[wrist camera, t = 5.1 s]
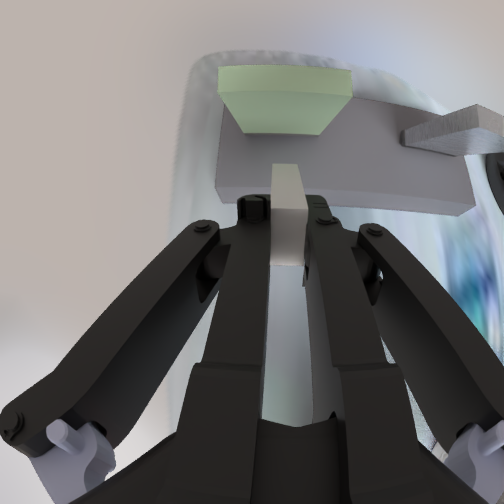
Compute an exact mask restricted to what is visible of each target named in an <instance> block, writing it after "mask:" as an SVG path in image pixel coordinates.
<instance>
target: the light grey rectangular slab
mask: <svg viewBox="0 0 504 504" xmlns="http://www.w3.org/2000/svg"><path fill="white" fill-rule="evenodd" d="M399 140H400V145H401V146H402V147H407V148H413V149H418V150H423V151H428V152H433V153H438V154H443V155H447V156H451V157H456V156H462V155H472V154H485V153H499V152H504V116H502V115H500V114H498V113H496V112H493V111H491V110H489V109H487V108H485V107H482V106H480V105H477V104H475V105H473V106H470V107H467V108H464V109H461V110H458V111H455V112H452V113H449V114H446V115H444V116H441V117H438V118H435V119H433V120H430V121H427V122H424V123H422V124H419V125H417V126H414V127H411V128H409V129H406V130H402V131H401V133H400V137H399Z"/></svg>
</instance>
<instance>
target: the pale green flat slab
mask: <svg viewBox="0 0 504 504" xmlns="http://www.w3.org/2000/svg"><path fill="white" fill-rule="evenodd" d="M217 93H218V94H219V96H220V97H221V99H222V100H223V102H224V103H225V105H226V106H227V108H228V109H229V111H230V112H231V114H232V115H233V117H234V119H235V120H236V122H237V123H238V125H239V126H240V128H241V130H242V131H243V133H244V135H283V136H308V137H319V135H320V134H321V132H322V131H323V130H324V129H325V128H326V127H327V125H328V124H329V123H330V122H331V121H332V120H333V119H334V117H335V116H336V115H337V114H338V113H339V112H340V111H341V109H342V108H343V107H344V106H345V105H346V104H347V103H348V101H349V100H350V99H351V98H352V97H353V91H352V78H351V71H350V70H343V69H334V68H325V67H313V66H296V65H240V66H223V67H218V91H217Z"/></svg>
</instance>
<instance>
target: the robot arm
mask: <svg viewBox="0 0 504 504" xmlns="http://www.w3.org/2000/svg"><path fill="white" fill-rule="evenodd" d="M486 168H487V174H488V178H489V182H490V185H491V188H492V191H493V194H494V196H495V199H496V201H497V203H498V205H499V207H500V209H501V210H502V212H503V214H504V152H499V153H487V156H486ZM237 210H238V221H237V225H235V226H232V227H229V228H224V229H220V228H219V224H218V223H217V222H215V221H211V220H198V221H196V222H193V223H191V224H190V225H188V226H187V227H186V228H185V229H184V230H183V231H182V232H181V233H180V234H179V235H178V236H177V237H176V238H175V239H174V240H173V241H172V242H171V243H170V244H169V245H168V246H166V247H165V248H164V249H163V250H162V251H161V253H159V255H157V256H156V257H155V259H153V261H151V262H150V264H148V265H147V267H146V268H145V269H144V270H143V271H142V272H141V273H140V274H139V275H138V276H137V277H136V278H135V279H134V280H133V281H132V282H131V283H130V284H129V285H128V286H127V287H126V288H125V289H124V290H123V292H122V293H121V294H120V295H119V296H118V297H117V298H116V299H115V300H114V301H113V302H112V303H111V304H110V306H109V307H108V308H107V309H106V310H105V311H104V312H103V313H102V314H101V316H99V318H98V319H97V320H96V321H95V322H94V323H93V324H92V325H91V327H90V328H89V329H88V330H87V331H86V332H85V334H84V335H83V336H82V337H81V338H80V339H79V340H78V342H77V343H76V344H75V345H74V347H73V348H72V349H71V350H70V351H69V353H68V354H67V355H66V356H65V357H64V358H63V360H62V361H61V362H60V363H59V365H58V366H57V367H56V368H55V370H54V371H53V372H51V373H50V374H48V375H47V376H46V377H44V378H43V379H41V380H40V381H39V382H37V383H36V384H34V385H33V386H32V387H30V388H29V389H27V390H26V391H25V392H23V393H22V394H21V395H19V396H18V397H16V398H15V399H14V400H12V401H11V402H10V403H9V404H7V405H6V406H5V407H4V408H3V410H2V412H1V414H0V435H1V437H2V439H3V440H4V441H5V442H6V443H7V444H9V445H10V446H12V447H13V448H15V449H16V450H18V451H20V452H21V453H23V454H25V455H26V456H27V457H28V458H29V459H30V461H31V463H32V465H33V467H34V469H35V471H36V473H37V474H38V476H39V478H40V480H41V482H42V483H43V485H44V487H45V489H46V490H47V492H48V494H49V495H50V497H51V499H52V500H53V502H54V503H55V504H496V503H497V501H498V500H499V498H500V496H501V495H502V493H503V492H504V366H503V365H502V363H501V362H500V360H499V359H498V357H497V356H496V354H495V353H494V352H493V350H492V349H491V347H490V346H489V344H488V343H487V342H486V340H485V339H484V338H483V336H482V335H481V334H480V332H479V331H478V330H477V328H476V327H475V326H474V324H473V323H472V322H471V321H470V319H469V318H468V317H467V315H466V314H465V313H464V312H463V310H462V309H461V308H460V307H459V306H458V304H457V303H456V302H455V301H454V300H453V298H452V297H451V296H450V295H449V294H448V293H447V291H446V290H445V289H444V288H443V287H442V286H441V285H440V283H439V282H438V281H437V280H436V279H435V278H434V277H433V276H432V275H431V273H430V272H429V271H428V270H427V269H426V268H425V267H424V266H423V265H422V264H421V263H420V262H419V261H418V260H417V259H416V258H415V256H414V255H413V254H412V253H411V252H410V251H409V250H408V249H407V248H406V247H405V246H404V245H403V244H402V243H401V242H400V241H399V240H398V239H397V238H396V237H395V236H394V235H392V234H391V233H390V232H389V231H388V230H387V229H386V228H384V227H382V226H380V225H379V224H375V223H371V224H370V223H367V224H362V225H361V226H360V228H359V232H355V231H350V230H347V229H344V228H343V227H342V224H341V222H340V221H339V219H338V218H336V217H334V216H332V214H331V211H330V209H329V206H328V203H327V201H326V199H325V198H324V197H322V196H321V195H305V193H304V189H303V185H302V181H301V177H300V173H299V169H298V165H297V164H272V181H271V194H251V195H245V196H242V197H240V198H239V199H238V200H237ZM304 259H305V266H304V275H303V284H302V286H304V287H305V290H306V300H307V311H308V324H309V337H310V351H311V367H312V386H313V421H312V424H310V425H306V426H302V427H292V426H287V425H283V424H279V423H275V422H271V421H267V420H264V419H262V404H263V389H264V374H265V358H266V341H267V323H268V303H269V282H270V265H282V266H303V265H304ZM381 271H382V274H383V279H382V278H381V277H380V276H379V275H380V272H381ZM218 291H219V293H218V297H217V301H216V305H215V309H214V313H213V317H212V321H211V325H210V329H209V333H208V337H207V342H206V346H205V350H204V354H203V358H202V361H201V362H200V363H195V365H194V366H193V368H192V371H191V374H190V378H189V382H188V385H187V389H186V393H185V398H184V402H183V406H182V410H181V414H180V418H179V422H178V426H177V431H176V432H174V433H173V434H171V435H169V436H168V437H166V438H165V439H163V440H162V441H161V442H159V443H158V444H157V445H156V446H154V447H153V448H152V449H150V450H149V451H148V452H146V453H145V454H143V455H142V456H141V457H140V458H138V459H137V460H135V461H134V462H132V463H131V464H130V465H128V466H127V467H125V468H124V469H122V470H121V471H119V472H118V473H117V474H115V475H113V476H112V477H110V478H109V479H107V480H106V481H104V480H105V477H106V475H107V474H108V472H111V471H113V470H114V469H115V467H116V461H115V455H114V451H113V449H115V448H116V447H117V446H118V445H119V444H120V443H121V442H122V440H124V438H125V437H126V436H127V435H128V434H129V432H130V431H131V430H132V428H133V427H134V425H135V424H136V422H137V421H138V419H139V418H140V416H141V414H142V413H143V411H144V409H145V407H146V406H147V405H148V403H149V401H150V400H151V398H152V396H153V395H154V393H155V392H156V390H157V388H158V387H159V385H160V384H161V382H162V380H163V379H164V377H165V375H166V374H167V372H168V371H169V369H170V367H171V366H172V364H173V363H174V361H175V359H176V358H177V356H178V355H179V353H180V351H181V350H182V348H183V347H184V345H185V343H186V342H187V340H188V339H189V337H190V335H191V334H192V332H193V331H194V329H195V327H196V326H197V324H198V323H199V321H200V319H201V318H202V316H203V315H204V313H205V311H206V310H207V308H208V307H209V305H210V304H211V302H212V300H213V299H214V297H215V296H216V294H217V292H218ZM380 336H381V338H382V339H383V341H384V343H385V345H386V346H387V348H388V350H389V352H390V353H391V355H392V357H393V359H394V361H395V362H396V363H392V364H390V363H389V362H388V361H387V359H386V356H385V352H384V348H383V345H382V341H381V338H380ZM404 379H405V380H404ZM405 381H406V383H407V384H408V386H409V388H410V390H411V392H412V394H413V396H414V398H415V400H416V402H417V404H418V406H419V408H420V410H421V412H422V414H423V416H424V418H425V420H426V422H427V424H428V426H429V428H430V430H431V431H432V433H433V435H434V437H435V438H436V440H437V441H438V443H439V444H440V446H441V447H442V448H443V449H444V451H445V452H446V453H447V454H448V457H447V458H446V459H445V461H444V462H443V463H442V462H441V461H440V460H439V459H438V458H437V457H436V456H435V455H434V454H432V453H431V452H430V451H429V450H428V449H427V448H426V447H425V446H424V445H423V444H421V443H420V442H419V441H418V439H417V433H416V428H415V423H414V418H413V414H412V409H411V405H410V400H409V396H408V392H407V388H406V384H405Z"/></svg>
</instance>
